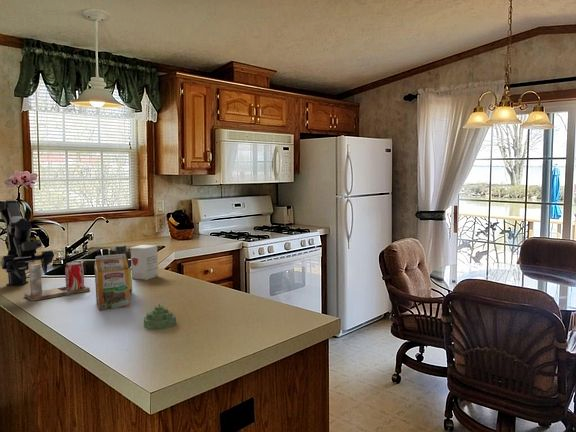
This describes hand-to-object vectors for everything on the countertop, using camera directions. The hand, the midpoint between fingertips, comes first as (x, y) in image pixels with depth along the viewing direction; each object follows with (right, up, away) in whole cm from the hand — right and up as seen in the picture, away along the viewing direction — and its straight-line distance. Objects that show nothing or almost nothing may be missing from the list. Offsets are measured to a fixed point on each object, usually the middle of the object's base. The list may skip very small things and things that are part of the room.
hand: (33, 275), depth 191 cm
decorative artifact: (+61, -11, -37) cm, 72 cm away
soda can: (+12, -8, +10) cm, 18 cm away
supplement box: (+34, -5, +35) cm, 49 cm away
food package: (+37, -10, -13) cm, 40 cm away
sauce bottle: (+35, -8, +4) cm, 36 cm away
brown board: (+7, -8, +5) cm, 12 cm away
